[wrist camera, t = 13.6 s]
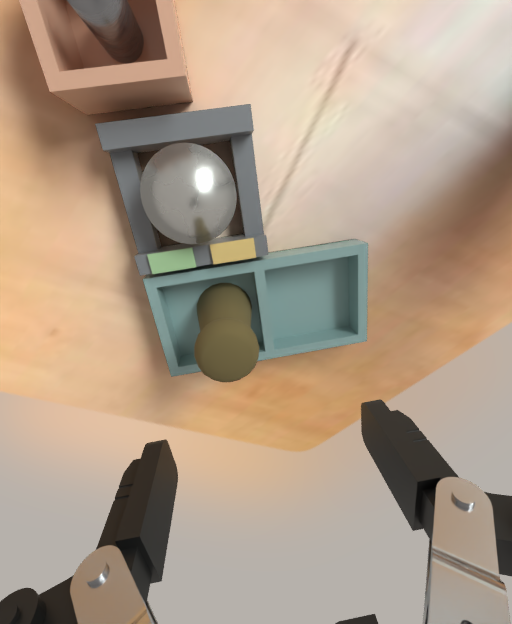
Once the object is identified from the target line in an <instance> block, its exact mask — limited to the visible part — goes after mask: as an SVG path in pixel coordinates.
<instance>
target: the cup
mask: <svg viewBox="0 0 512 624" xmlns="http://www.w3.org/2000/svg"><path fill="white" fill-rule="evenodd" d="M127 1H128V3H129V5H130V7H131V9H132V11H133V14H134V16H135V18H136V20H137V22H138V24H139V26H140V29H141V31H142V34H143V39H144V46H143V51H142V53H141V55H140V57H139V58H138V59H137V60H136V61H134V62H132V63H129V64H125V63H120V62H118V61H116V60H114V59H113V58H112V57H111V56H110V55H109V54H108V53H107V52H106V50H105V49H104V48H103V46H102V45H101V44H100V43H99V41H98V40H97V39H96V37H95V36H94V35H93V33H92V32H91V31H90V30H89V28H88V27H87V26H86V24H85V23H84V22H83V21H82V19H81V18H80V17H79V15H78V14H77V13H76V12H75V10H74V9H73V8H72V6H71V5H70V4H69V2H68V1H67V0H19V2H20V5H21V8H22V11H23V13H24V16H25V19H26V22H27V25H28V28H29V31H30V34H31V37H32V40H33V43H34V46H35V49H36V52H37V55H38V58H39V61H40V64H41V67H42V70H43V73H44V76H45V79H46V82H47V85H48V88H49V91H50V92H51V93H52V94H54V95H55V96H57V97H59V98H60V99H62V100H64V101H65V102H67V103H68V104H70V105H72V106H73V107H75V108H77V109H78V110H80V111H81V112H83V113H85V114H86V115H91V114H99V113H107V112H115V111H123V110H130V109H138V108H146V107H154V106H162V105H170V104H178V103H186V102H193V100H192V95H191V89H190V83H189V78H188V72H187V67H186V61H185V56H184V50H183V45H182V39H181V34H180V28H179V23H178V17H177V12H176V6H175V1H174V0H127Z"/></svg>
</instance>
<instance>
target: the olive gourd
mask: <svg viewBox="0 0 512 624" xmlns="http://www.w3.org/2000/svg"><path fill="white" fill-rule="evenodd" d="M251 313H252V304H251V300H250V297H249V296H248V295H247V293H246V292H245V291H244V290H243V289H242V288H240V287H239V286H237V285H234V284H232V283H218V284H214V285H212V286H210V287H209V288H207V289H205V290H204V292H203V293H202V294H201V295H200V297H199V300H198V303H197V316H198V321H199V327H200V333H199V334H198V336H197V339H196V342H195V346H194V357H195V359H196V362H197V365H198V367H199V369H200V370H201V371H202V372H203V373H204V374H205V375H206V376H208V377H210V378H211V379H213V380H216V381H220V382H233V381H236V380H240V379H241V378H243V377H245V376H246V375H248V374H249V373H250V372H251V371H252V369H253V368H254V367H255V365H256V363H257V360H258V357H259V344H258V340H257V337H256V335H255V333H254V332H253V330H252V329H251Z"/></svg>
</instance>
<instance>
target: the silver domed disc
mask: <svg viewBox="0 0 512 624" xmlns="http://www.w3.org/2000/svg"><path fill="white" fill-rule="evenodd" d="M140 194H141V200H142V205H143V208H144V210H145V213H146V215H147V217H148V218H149V220H150V221H151V223H152V224H153V225H154V226H155V227H156V228H157V229H158V230H159V231H160V232H161V233H162V234H163V235H165V236H167V237H168V238H170V239H172V240H174V241H177V242H180V243H185V244H200V243H205V242H207V241H210V240H212V239H214V238H216V237H217V236H218V235H220V234H221V233H222V232H223V231H224V230H225V229H226V228H227V226H228V225H229V223H230V222H231V220H232V218H233V215H234V212H235V208H236V200H237V195H236V187H235V183H234V180H233V177H232V175H231V173H230V170H229V169H228V167H227V166H226V164H225V163H224V162H223V161H222V159H221V158H219V157H218V156H217V155H216V154H215V153H214V152H212V151H211V150H209V149H207V148H205V147H203V146H200V145H197V144H193V143H176V144H172V145H169V146H166V147H164V148H163V149H161V150H159V151H158V152H157V153H156V154H155V155H154V156H153V157H152V158H151V159H150V160H149V162H148V163H147V165H146V167H145V169H144V171H143V174H142V178H141V184H140Z"/></svg>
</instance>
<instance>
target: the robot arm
mask: <svg viewBox="0 0 512 624" xmlns="http://www.w3.org/2000/svg"><path fill="white" fill-rule="evenodd" d="M361 421H362V423H361V424H362V436H363V440H364V443H365V445H366V447H367V449H368V451H369V453H370V455H371V456H372V458H373V460H374V462H375V463H376V465H377V467H378V469H379V471H380V472H381V474H382V476H383V478H384V480H385V481H386V483H387V485H388V487H389V489H390V490H391V492H392V494H393V496H394V498H395V499H396V501H397V503H398V505H399V507H400V508H401V510H402V512H403V514H404V516H405V517H406V519H407V521H408V523H409V525H410V526H411V528H412V530H413V531H414V530H419V529H423V528H424V530H425V532H426V533H427V535H428V537H429V538H430V539H429V551H428V564H427V577H426V591H425V604H424V615H423V624H510V615H509V606H508V597H507V591H506V588H505V585H504V583H503V582H501V581H500V576H499V574H502V575H508V576H512V496H506V495H497V494H491V493H487V492H483V491H482V490H481V489H480V488H479V487H478V486H476V485H475V484H473V483H472V482H470V481H467V480H465V479H462V478H459V477H458V475H457V474H456V473H455V472H454V471H453V470H452V468H451V467H450V466H449V465H448V464H447V462H446V461H445V460H444V459H443V458H442V457H441V455H440V454H439V453H438V451H437V450H436V449H435V448H434V447H433V445H432V444H431V443H430V442H429V440H427V439H426V437H425V436H424V435H423V433H422V432H421V431H419V428H418V427H417V426H416V425H415V423H414V422H413V421H412V420H411V419H410V418H409V417H407V416H406V415H404V414H403V413H401V412H400V411H398V410H396V411H390V410H389V408H388V407H387V406H386V405H385V403H384V402H383V401H382V400H375V401H370V402H364V403H362V405H361ZM177 482H178V473H177V467H176V464H175V461H174V458H173V456H172V452H171V450H170V447H169V444H168V442H167V440H161V441H156V442H150V443H147V444H146V445H145V447H144V450H143V453H142V457H141V459H136V460H133V462H132V463H131V464H130V466H129V467H128V468H127V470H126V471H125V472H124V474H123V477H122V480H121V482H120V485H119V489H118V491H117V493H116V496H115V501H114V502H113V504H112V507H111V510H110V513H109V516H108V518H107V521H106V524H105V527H104V530H103V532H102V535H101V538H100V541H99V543H98V546H97V548H96V550H95V551H94V552H92V553H91V554H90V555H89V556H87V557H86V558H85V559H84V561H83V562H82V563H81V564H80V566H79V567H78V569H77V570H76V572H75V574H74V575H73V576H72V577H70V578H69V579H67V580H65V581H63V582H62V583H60V584H58V585H56V586H54V587H52V588H51V589H49V590H47V591H45V592H43V593H41V594H40V595H38V594H37V593H36V591H34V590H33V589H31V588H24V589H20V590H17V591H15V592H13V593H12V594H10V595H8V596H7V597H6V598H4V599H3V600H2V601H1V602H0V624H158V622H157V620H156V618H155V616H154V613H153V611H152V609H151V607H150V605H149V603H148V601H147V597H148V592H149V586H150V583H155V582H160V581H162V575H163V568H164V562H165V556H166V550H167V544H168V538H169V532H170V526H171V520H172V513H173V507H174V501H175V495H176V489H177ZM336 624H378V622H377V619H376V616H375V614H372V615H367V616H363V617H358V618H353V619H349V620H344V621H339V622H337V623H336Z"/></svg>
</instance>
